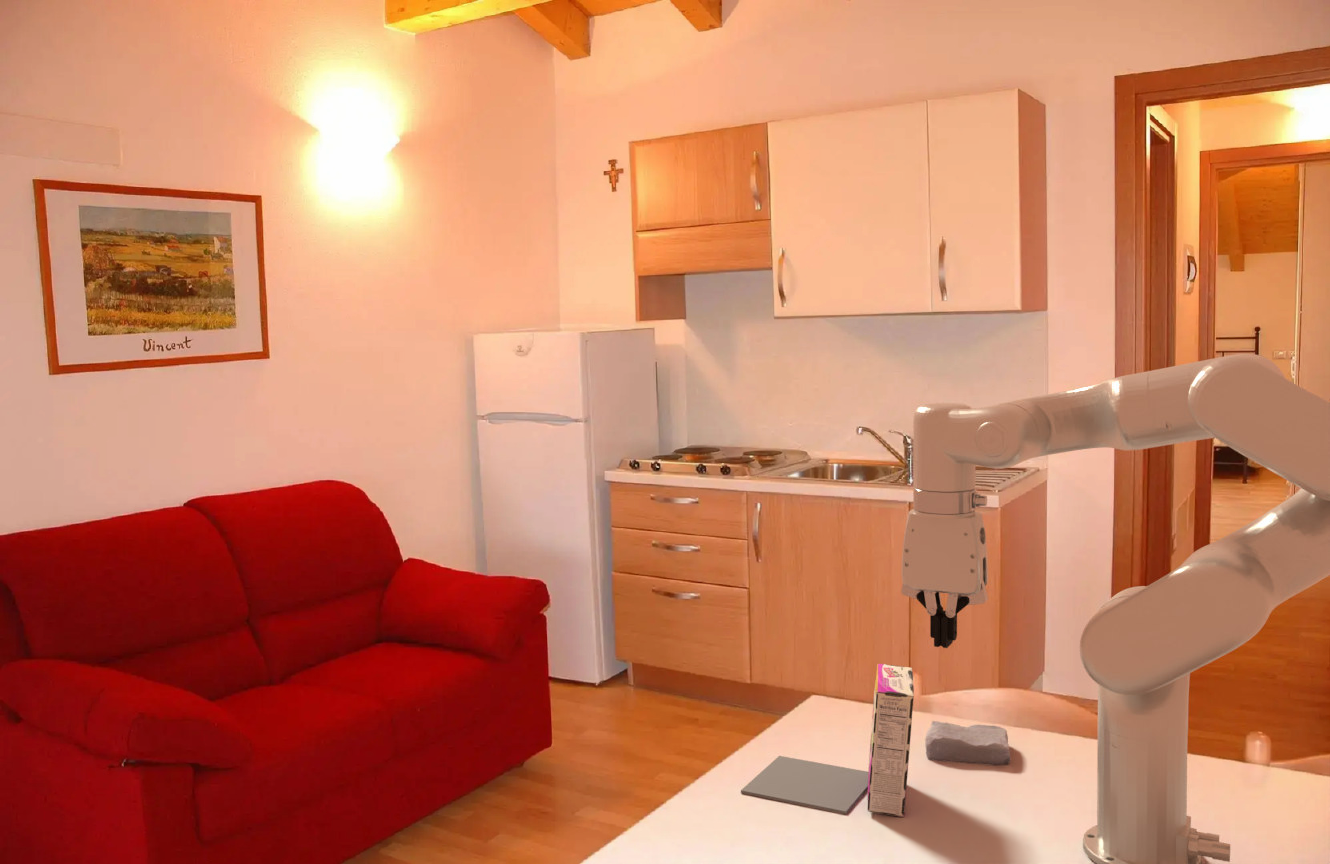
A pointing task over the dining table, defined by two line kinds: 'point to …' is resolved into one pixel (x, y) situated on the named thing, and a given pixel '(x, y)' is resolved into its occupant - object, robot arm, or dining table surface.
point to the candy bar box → (890, 739)
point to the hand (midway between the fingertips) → (943, 644)
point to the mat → (809, 784)
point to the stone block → (967, 744)
